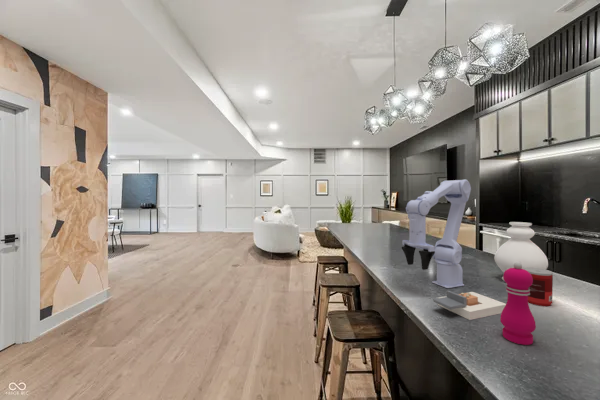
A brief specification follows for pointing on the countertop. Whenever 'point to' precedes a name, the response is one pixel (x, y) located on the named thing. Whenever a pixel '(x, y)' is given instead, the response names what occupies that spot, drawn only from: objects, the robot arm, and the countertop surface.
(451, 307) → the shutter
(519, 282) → the pepper mill
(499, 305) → the socket board
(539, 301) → the canned food
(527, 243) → the decorative vase
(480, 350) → the countertop surface
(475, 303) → the plug
